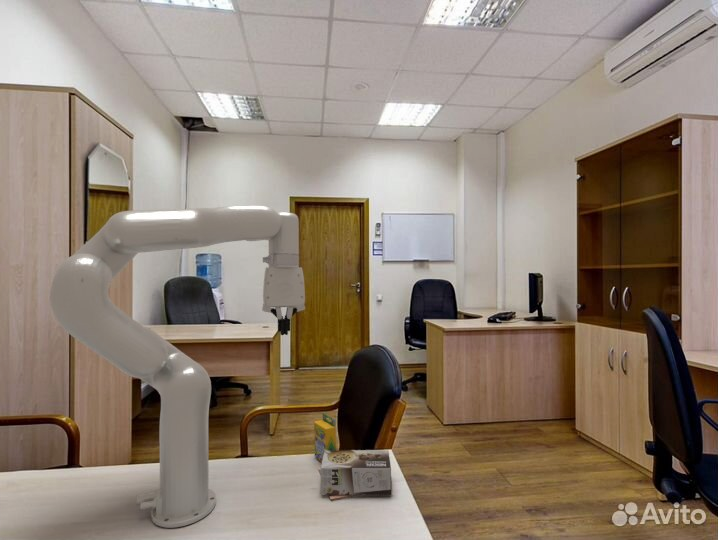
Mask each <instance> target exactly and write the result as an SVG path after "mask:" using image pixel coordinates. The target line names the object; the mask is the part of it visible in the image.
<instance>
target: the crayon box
mask: <svg viewBox="0 0 718 540" xmlns="http://www.w3.org/2000/svg"><path fill="white" fill-rule="evenodd" d="M327 418H328V419H329V420H328V419H327ZM330 420H331V421H330ZM313 425H314V426H313V429H314V433H313V434H314V435H313V436H314V458H315V459H316V460H318V461H320V463H322V460H323V455H324V451H325V450H337V435H336V434H337V430H336V429H337V427H336V419H335V418H333V417H331V416H330V415H328V414H326V413H324V412H322V419H320V420H316V421H314V422H313Z"/></svg>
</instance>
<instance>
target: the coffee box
mask: <svg viewBox="0 0 718 540" xmlns="http://www.w3.org/2000/svg"><path fill="white" fill-rule="evenodd" d="M389 452H390V451H389V449H365V450H364V449H362V450H361V449H357V450H356V449H349V450H348V449H347V450H346V449H344V450H343V449H336V450H325V451H324V455H323V460H322V462H321V466H320V467H321V475H320V489H319V490H320V491H319V494H320V495H321V496H322V495H324V496H325V495H326V496H329V495H360V496H390V497H391V496H393V495H392V493H393V489H392V488H393V487H392V486H393V481H392V467H391V460H390V459H391V458H390V453H389Z"/></svg>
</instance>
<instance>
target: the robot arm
mask: <svg viewBox="0 0 718 540" xmlns="http://www.w3.org/2000/svg"><path fill="white" fill-rule="evenodd" d="M299 222H300V221H299V216H298V215H297V214H296V213H294V212H287V211H279V212H278V211H276V210H275V209H274V208H272V207H270V206H267V205H237V206H222V207H220V206H219V207H198V208H197V207H196V208H181V209H180V208H177V209H176V208H175V209H143V210H141V209H139V210H138V209H137V210H135V209H134V210H124V211H123V210H122V211H120V212H117V213H115V214H113V215H112V216H111V217H109V219H108V220H107V221H106V222H105V224H104V225H103V226H102V227H101V228H100V229H99V230H98V231H97V233H95V234H94V235H93V236H92V237H91V238H90V239H89V240H88V241H86V243H85V244H84V245H82V246H81V247H80V248H79V249H77V250H76V251H75V252H74V253H73V254H72V255H71V256H68V257H66V258H65V259H64V260H63V261H62V262H61V263H60V264H59V265H58V267H57V269H56V271H55V273H54V276H53V279H52V281H51V285H50V292H49V303H50V308H51V311H52V313H53V316H54V318H55V320H56V321H57V323H58V324H59V325H60V327H62V329H63V330H64V331H65V332H66V333H67V334H69V335H70V336H71V337H73V338H74V339H75V340H77V341H78V342H80V343H81V344H83V345H84V346H86V347H87V348H88V349H90V350H91V351H92V352H93V353H95V354H97V355H98V356H99V357H102V358H103V359H104V360H106V361H108V362H109V363H110V364H112V365H113V366H115V368H117V369H118V370H119V371H120V372H122V373H123V374H125V375H127V376H129V377H132V378H137V379H140V380H141V381H142V382H144V383H146V384H147V385H149V386H150V387H152V388H153V389H155V390H156V392H158V394H159V395H160V412H159V413H160V414H159V415H160V416H159V433H158V434H159V489H157V490H154V491H153V492H151V493H141V494H137V497H136V506H140V510H141V511H143V510H148V509H151V520H152V522H153V523H154V525H156V526H158V527H161V528H170V529H173V528H180V527H185V526H188V525H192V524H194V523H197V522H198V521H200V520H202V519H203V518H205V517H206V516H208V515H209V514H210V513H212V511H213V510H214V508H215V506H216V504H217V494H216V493H215V491H214V490H212V489H210V487H209V470H210V469H209V412H210V411H209V410H210V401H211V395H212V381H211V378H210V375H209V374H208V371H207V370H206V369H205V367H203V366H202V365H201V364H200V363H198V361H195V360H193V359H192V358H191V357H190V356H188V355H187V354H186V353H184V352H182V351H181V350H180V349H178V348H177V347H176V346H175V345H173V344H172V343H170V342H169V341H168V340H166V339H165V338H164V337H162V336H161V335H160V334H159V333H157V332H156V331H154V330H153V329H151V328H149V327H146V326H143V325H142V324H141V323H139V322H137V321H136V320H135V319H134V318H132V317H130V315H128V314H127V313H126V312H125V311H123V310H122V309H121V308H120V307H118V306H117V305H115V304H114V302H112V300H111V298H110V296H109V287H110V286H111V283H112V281H113V280H114V278H115V277H116V276H117V275H118V274H119V273H120V272H122V270H124V268H125V267H126V266H128V264H129V263H130V262H131V261H132V260H133V259H134V258H135V257H136V256H137V255H138V254H139V253H151V252H160V251H161V252H162V251H172V250H173V251H175V250H185V249H198V248H204V247H205V248H206V247H210V246H214V245H218V244H219V245H220V244H223V243H230V242H231V243H232V242H238V241H239V242H240V241H247V242H257V241H268V255H267V256H264V257H262V263H265V264H267V265H268V267H267V266H266V267H265V271H264V277H263V278H264V279H263V289H262V299H263V300H262V301H263V302H262V303H263V304H262V308H261V310H262V312H265V313H270V314H272V315H274V317H275V318H277V332H280V333H279V334H280V336H284V335H286V336H288V335H289V332H291V319H292V318H293V316H294V315H295V314H296V313H297V312H301V311H305V310H306V306H305V303H306V291H305V288H306V287H305V278H304V271H303V267H299V266H300V261H299V260H300V255H299V254H300V253H299V252H300V249H299V248H300V247H299V245H300V239H299V235H300V234H299V233H300V232H299V229H300V227H299V225H300V223H299ZM282 308H286V312H285V315H284V316H283V313H282Z"/></svg>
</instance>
